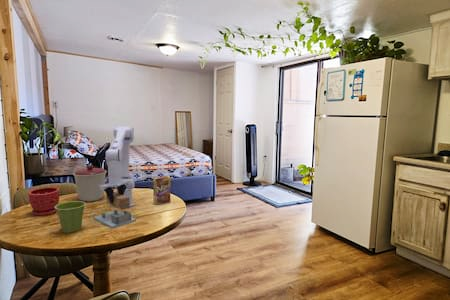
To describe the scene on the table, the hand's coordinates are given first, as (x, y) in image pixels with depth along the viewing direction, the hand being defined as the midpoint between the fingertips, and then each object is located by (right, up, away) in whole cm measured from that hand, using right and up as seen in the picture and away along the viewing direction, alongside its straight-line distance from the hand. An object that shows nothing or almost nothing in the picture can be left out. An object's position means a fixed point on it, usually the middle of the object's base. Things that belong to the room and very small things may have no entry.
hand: (115, 201), depth 134 cm
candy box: (+17, -6, +25) cm, 31 cm away
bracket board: (0, -9, -1) cm, 9 cm away
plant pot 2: (-14, -10, -12) cm, 22 cm away
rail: (+1, -2, -1) cm, 2 cm away
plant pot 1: (-39, -8, +9) cm, 41 cm away
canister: (-27, -5, +32) cm, 42 cm away
